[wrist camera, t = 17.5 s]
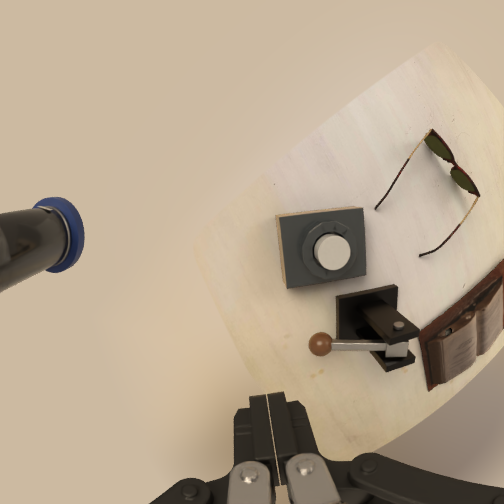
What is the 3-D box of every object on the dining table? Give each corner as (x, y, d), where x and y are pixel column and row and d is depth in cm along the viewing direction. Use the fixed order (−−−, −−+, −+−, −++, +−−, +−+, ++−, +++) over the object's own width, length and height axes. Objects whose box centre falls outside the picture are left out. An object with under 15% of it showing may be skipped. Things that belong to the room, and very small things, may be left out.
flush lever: (311, 347, 37) (306, 360, 34) (310, 327, 36) (305, 339, 33) (404, 347, 31) (406, 361, 29) (407, 327, 31) (409, 340, 28)
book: (414, 330, 42) (427, 343, 37) (505, 253, 39) (519, 259, 35) (425, 389, 47) (434, 402, 43) (505, 320, 45) (516, 328, 40)
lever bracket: (336, 342, 41) (364, 387, 29) (335, 295, 39) (369, 333, 27) (391, 328, 41) (429, 365, 29) (394, 283, 39) (438, 312, 28)
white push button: (315, 268, 33) (319, 272, 31) (312, 235, 32) (316, 238, 31) (345, 263, 33) (351, 267, 31) (344, 231, 32) (349, 233, 31)
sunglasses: (464, 193, 37) (482, 196, 32) (419, 259, 40) (436, 269, 35) (415, 130, 34) (433, 127, 30) (363, 201, 38) (378, 205, 33)
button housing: (282, 281, 38) (289, 293, 33) (275, 215, 36) (281, 218, 31) (357, 269, 38) (372, 279, 33) (353, 206, 36) (369, 208, 32)
